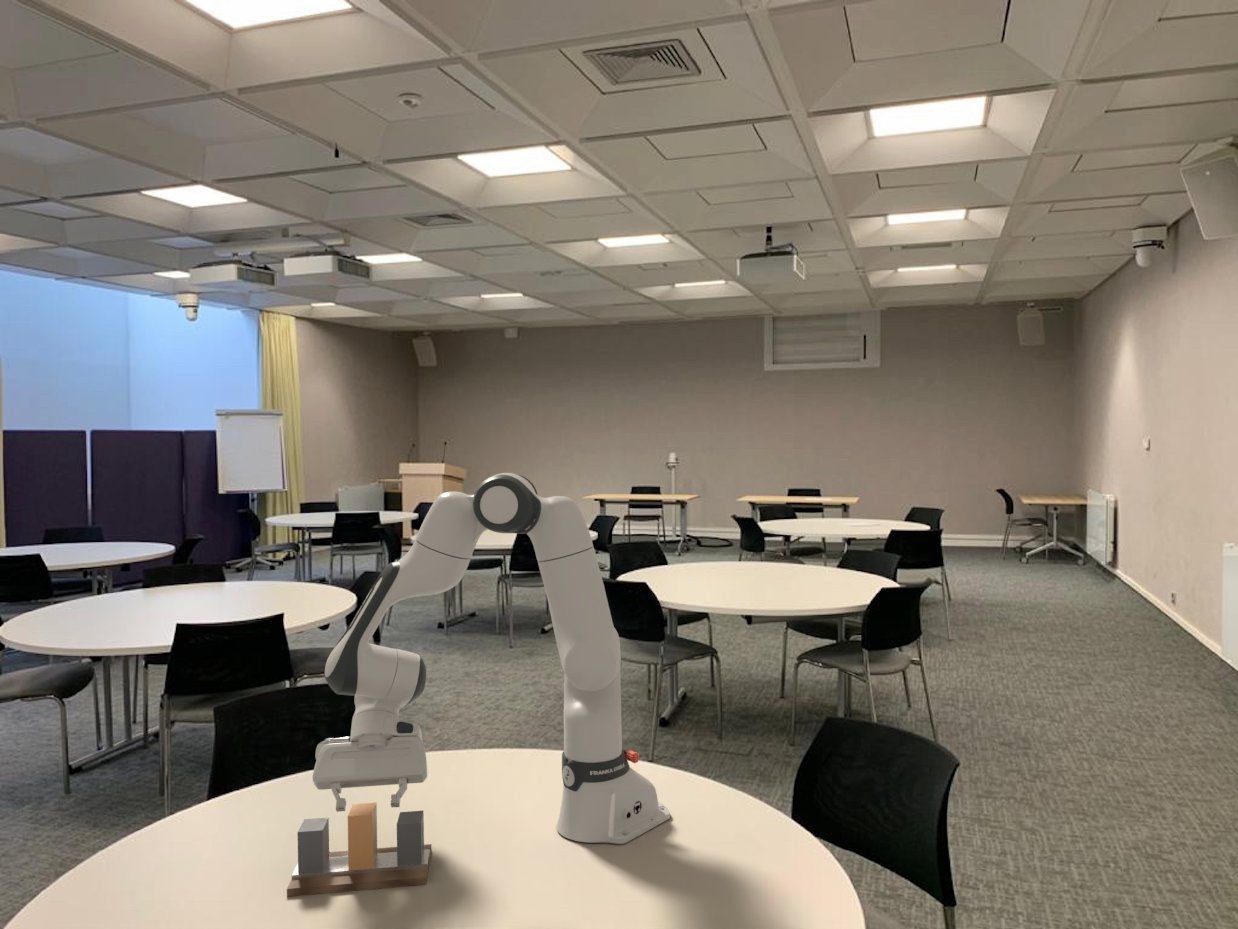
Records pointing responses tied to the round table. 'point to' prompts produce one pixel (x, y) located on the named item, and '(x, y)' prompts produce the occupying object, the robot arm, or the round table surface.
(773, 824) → the round table surface
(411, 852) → the mounted modules
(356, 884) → the board
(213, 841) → the round table surface
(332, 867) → the light grey flat plate
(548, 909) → the round table surface
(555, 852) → the round table surface
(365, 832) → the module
